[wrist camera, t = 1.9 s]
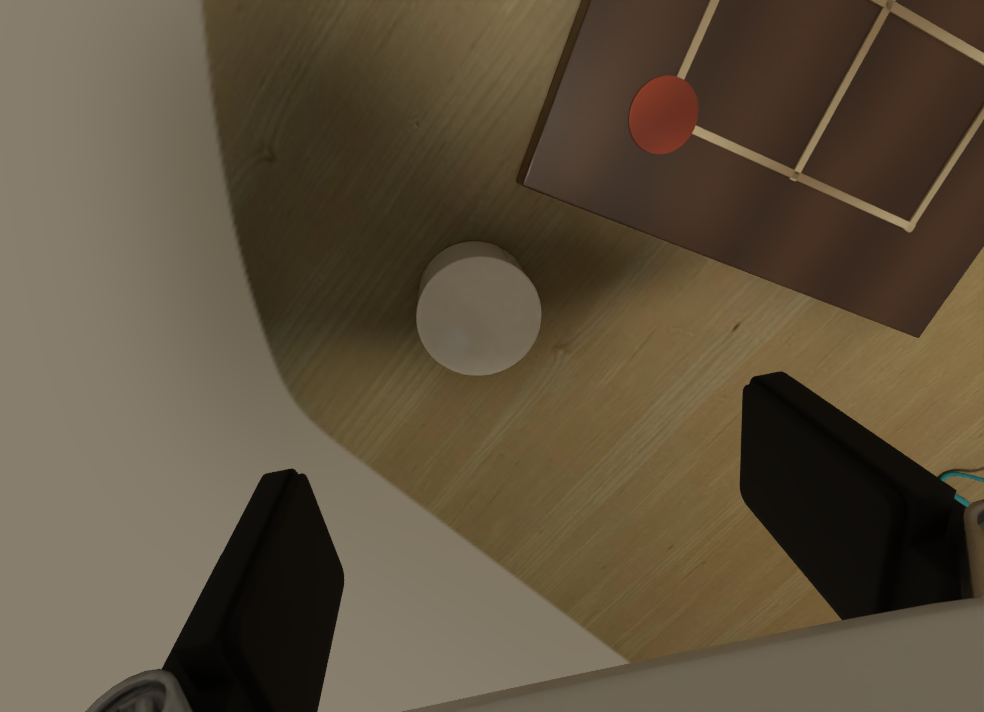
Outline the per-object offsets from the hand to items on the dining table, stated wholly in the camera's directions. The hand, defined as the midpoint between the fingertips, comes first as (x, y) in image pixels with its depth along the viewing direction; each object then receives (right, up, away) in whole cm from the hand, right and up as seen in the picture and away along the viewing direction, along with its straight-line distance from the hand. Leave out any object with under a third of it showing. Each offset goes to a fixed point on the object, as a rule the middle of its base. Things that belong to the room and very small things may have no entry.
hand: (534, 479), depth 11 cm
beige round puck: (-2, +5, +11) cm, 13 cm away
